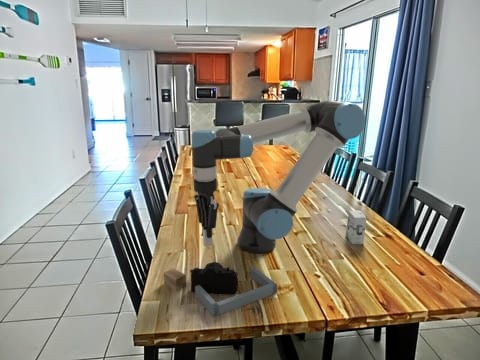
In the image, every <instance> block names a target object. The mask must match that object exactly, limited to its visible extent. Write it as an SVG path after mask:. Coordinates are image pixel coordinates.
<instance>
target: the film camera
mask: <svg viewBox="0 0 480 360" xmlns="http://www.w3.org/2000/svg"><path fill="white" fill-rule="evenodd" d="M189 272H190V289H191V290H190V291H191V292H192V293H194V294H195V286H197V285H200V286H201V287H202V288H203V289H204V290H205V291H206V292H207V293H208V294H209V295H219V296H221V295H222V296H234V295H235V296H236V295H237V292H238V291H239V290H238V289H239V287H238V285H239V284H238V283H239V282H238V281H239V277H238V276H239V273H238V272H237V271H235V270H234V269H230V268H229V266H227V267H223V264H221V263H220V262H218V261H217V262H216V261H213V262H209V263H207V264H205V267H204V268H200V267H194V268H193V269H190V270H189Z"/></svg>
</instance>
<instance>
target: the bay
mask: <svg viewBox="0 0 480 360" xmlns="http://www.w3.org/2000/svg"><path fill="white" fill-rule="evenodd" d="M250 277H251V278H252V279H253V280H254V281H255V282H257V283H258V284H259V285H260V286H259V287H257V288H254V289H250V290H248V291H244V292H242V293H239V294H235V296H234V295H233V296H231V297H228V298H225V299H223V300H220V301H217V302H216V301H215V300H214V299H213V297H212V296H211V294H208V293H207V292H206V291H205V290H204V289H203V288H202V287H201V286H200V285H197V286H195V293H194V295H195V297H196V298H197V299H198V300H199V301H200V302H201V304H203V306H204V307H205V308H206V309H207V311H209V312H210V314H211V315H212V316H213V317H217V316H220V315H222V314H225V313H227V312H229V311H233V310H236V309H238V308H241V307H243V306H246V305H249V304H251V303H254V302H256V301H259V300H262V299H264V298H267V297H270V296H272V295H275V294H277V292H278V291H277V290H278V283H276V282H274V281H273V280H272V279H271V278H270V277H268V276H267V275H265V274H264V273H263V272H262V271H260V270H259V269H258V268H256V266H255V267H251V268H250Z"/></svg>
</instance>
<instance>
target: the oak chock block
mask: <svg viewBox="0 0 480 360" xmlns="http://www.w3.org/2000/svg"><path fill="white" fill-rule="evenodd" d="M186 278H187V277H186V274H185V273H183V272H182V271H180V270H178V269H176V268H171V269H168V270H167V271H165V272H163V284H164V285H166V286H167V287H169V288H170V289H172V290H174V291H176V292H177V291H178V290H180V289H182V288H185V287H186V286H187V279H186Z"/></svg>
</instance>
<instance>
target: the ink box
mask: <svg viewBox="0 0 480 360" xmlns="http://www.w3.org/2000/svg"><path fill="white" fill-rule="evenodd" d="M346 221H347V222H346V230H345V231H346V232H345V237H346V238H347V240H348V241H349V243H351V245H364V244H365V243H364V241H365V234H366V233H365V232H366V224H367V217H366V215H365V214H364V213H363V212H362V211H361V210H360V209H359V210H357V209H356V210H348V215H347V220H346Z"/></svg>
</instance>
